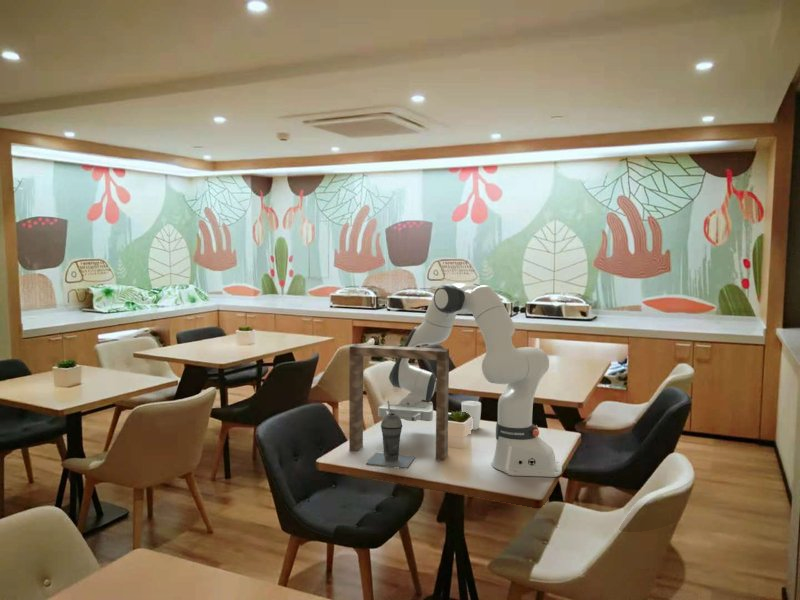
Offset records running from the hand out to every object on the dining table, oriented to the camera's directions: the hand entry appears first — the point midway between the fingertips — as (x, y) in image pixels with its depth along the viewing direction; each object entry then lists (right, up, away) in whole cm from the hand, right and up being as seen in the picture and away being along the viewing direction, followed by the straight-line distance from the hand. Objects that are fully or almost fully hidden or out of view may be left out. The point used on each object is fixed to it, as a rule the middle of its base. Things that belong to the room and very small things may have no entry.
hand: (400, 417), depth 211 cm
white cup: (+28, -10, +29) cm, 42 cm away
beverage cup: (-3, -12, -11) cm, 16 cm away
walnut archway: (-1, -12, -2) cm, 12 cm away
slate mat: (-3, -12, -11) cm, 17 cm away
